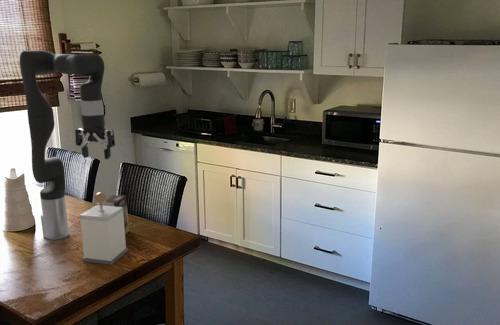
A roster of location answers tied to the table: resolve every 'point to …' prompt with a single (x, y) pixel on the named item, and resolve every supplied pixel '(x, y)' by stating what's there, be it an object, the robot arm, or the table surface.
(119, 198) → the coffee box
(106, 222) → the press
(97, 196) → the plunger
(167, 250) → the table surface
